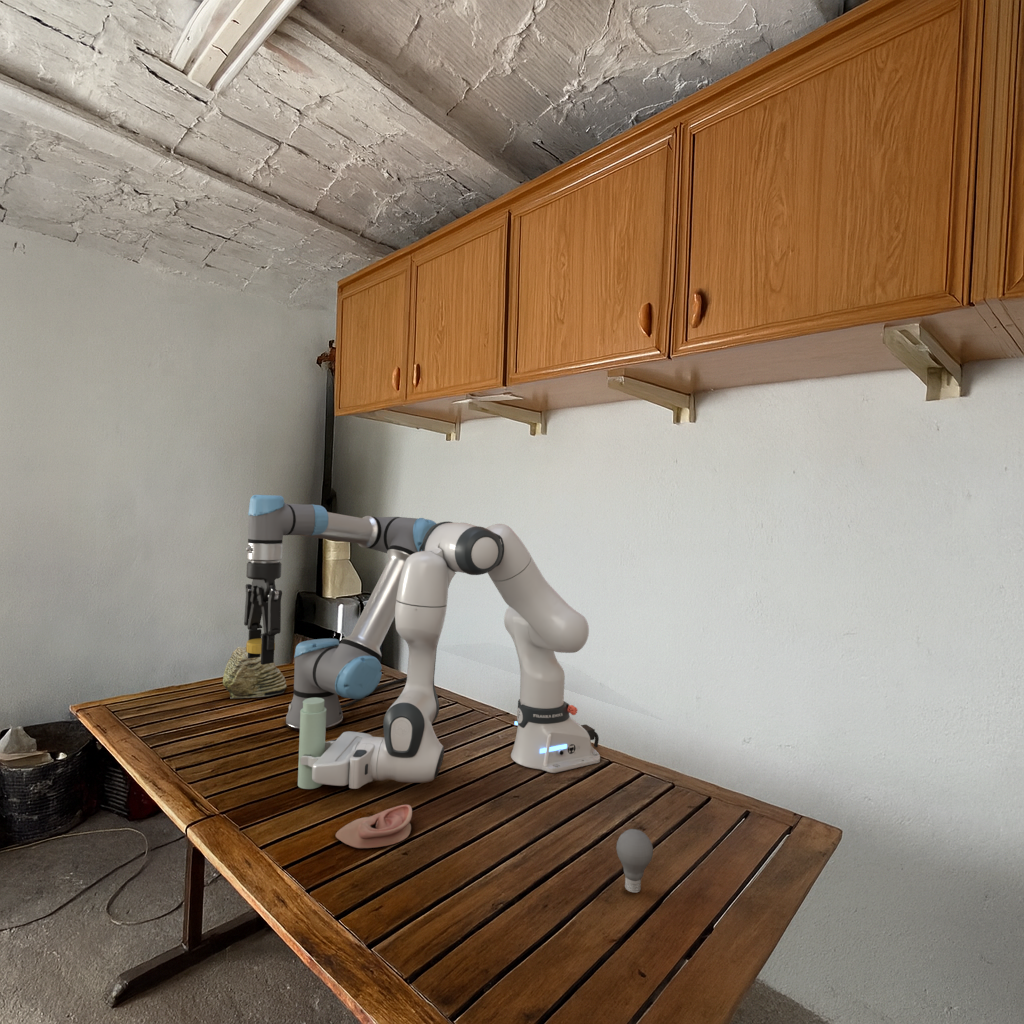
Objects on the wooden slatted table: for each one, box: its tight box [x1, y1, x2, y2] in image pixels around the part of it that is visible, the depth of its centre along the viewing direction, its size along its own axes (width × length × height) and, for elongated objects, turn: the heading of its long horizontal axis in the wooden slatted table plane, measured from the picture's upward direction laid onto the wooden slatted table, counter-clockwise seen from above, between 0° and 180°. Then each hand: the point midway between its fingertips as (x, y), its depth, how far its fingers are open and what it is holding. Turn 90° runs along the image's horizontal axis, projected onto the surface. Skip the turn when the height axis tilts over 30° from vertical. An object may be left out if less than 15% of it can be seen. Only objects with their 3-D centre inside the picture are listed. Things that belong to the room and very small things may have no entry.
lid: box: [245, 637, 276, 654], centre depth 147 cm, size 6×6×2 cm
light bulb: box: [615, 828, 654, 894], centre depth 106 cm, size 6×6×10 cm
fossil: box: [222, 646, 288, 699], centre depth 198 cm, size 9×18×15 cm, turn 132°
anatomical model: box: [335, 804, 413, 849], centre depth 120 cm, size 13×4×12 cm
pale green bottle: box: [297, 698, 327, 790], centre depth 139 cm, size 6×6×18 cm
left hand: (260, 660), depth 147 cm, fingers closed on lid, 6 cm apart
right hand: (307, 753), depth 140 cm, fingers closed on pale green bottle, 5 cm apart
